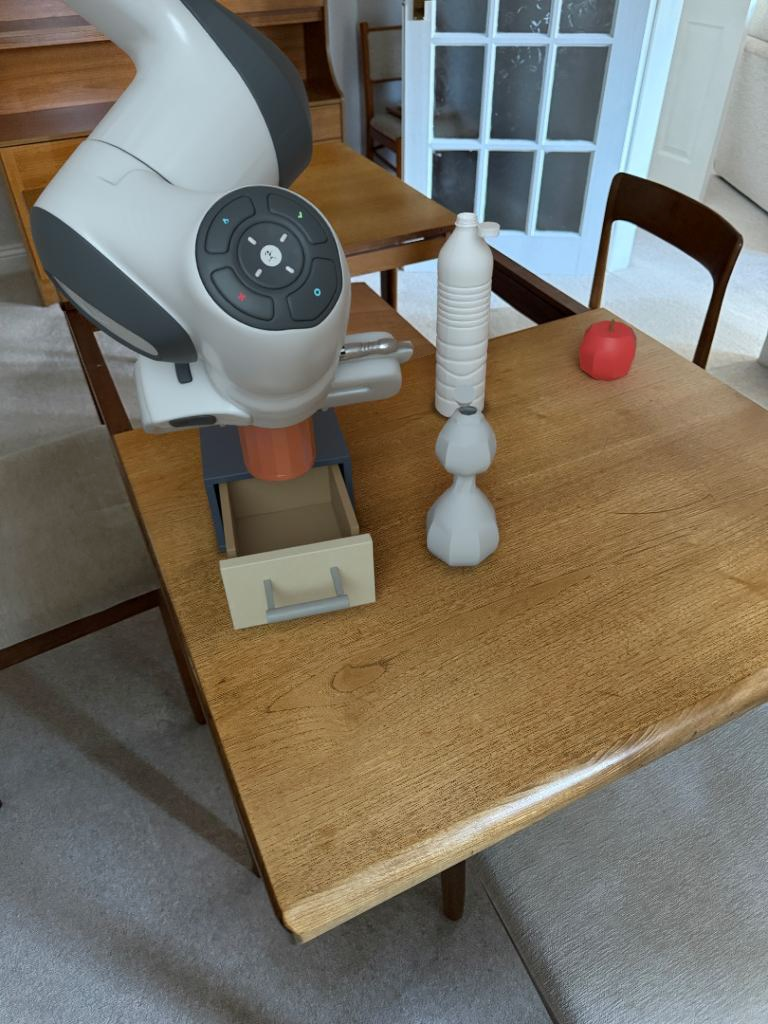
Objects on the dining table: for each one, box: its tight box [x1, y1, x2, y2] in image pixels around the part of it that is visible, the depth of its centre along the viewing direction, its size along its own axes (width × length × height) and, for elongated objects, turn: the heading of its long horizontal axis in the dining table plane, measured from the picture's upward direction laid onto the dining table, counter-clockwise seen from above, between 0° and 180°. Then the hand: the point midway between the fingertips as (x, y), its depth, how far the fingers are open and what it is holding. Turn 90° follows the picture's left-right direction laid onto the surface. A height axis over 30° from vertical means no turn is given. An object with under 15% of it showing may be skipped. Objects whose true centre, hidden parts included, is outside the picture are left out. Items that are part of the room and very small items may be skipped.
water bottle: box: [434, 212, 501, 418], centre depth 90 cm, size 9×6×25 cm
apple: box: [578, 319, 637, 382], centre depth 102 cm, size 8×8×8 cm
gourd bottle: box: [425, 385, 500, 568], centre depth 70 cm, size 8×8×20 cm
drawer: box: [218, 464, 377, 631], centre depth 71 cm, size 20×13×8 cm, turn 14°
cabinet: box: [198, 407, 356, 553], centre depth 82 cm, size 17×15×10 cm
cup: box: [237, 415, 316, 481], centre depth 64 cm, size 6×6×9 cm
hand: (272, 410), depth 64 cm, fingers closed on cup, 6 cm apart
